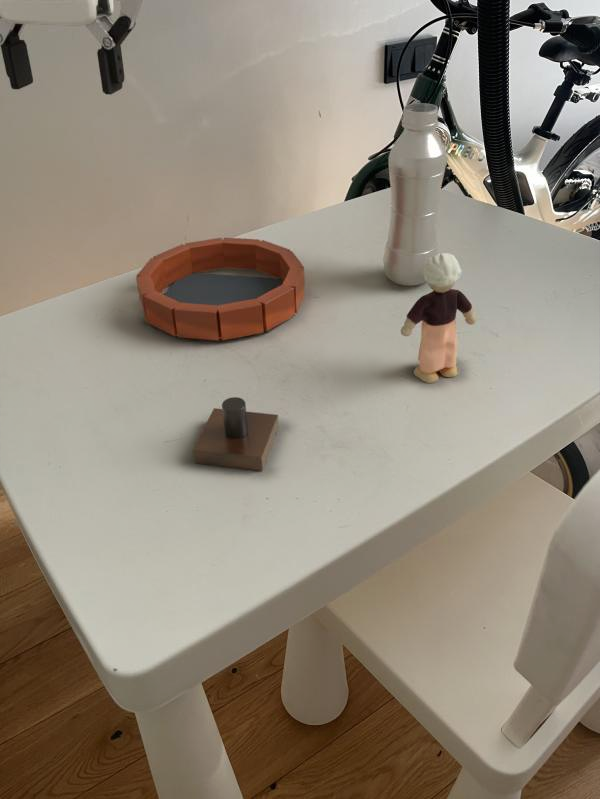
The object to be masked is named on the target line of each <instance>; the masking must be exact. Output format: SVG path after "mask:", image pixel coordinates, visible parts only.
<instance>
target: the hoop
mask: <svg viewBox="0 0 600 799" xmlns="http://www.w3.org/2000/svg"><path fill="white" fill-rule="evenodd" d="M219 269H241V270H254V271H255V270H256V271H259V272H261V273H263V274H266V275H269V276H271V277H273V278H279V279H281V280H282V281H283V284H282V285H281V286H279V287H277V288H275V289H273V290H271V291H269V292H268V293H266V294H264V295H262V296H260V297H258V298H256V299H251V300H246V301H240V302H235V303H229V304H224V305H218V306H216V305H203V304H190V303H180V302H178V301H176V300H174V299H171V298H169V297H167V296H165V294H163V293H162V292H163V291H164V290H165V288H166V287H167V286H168V285H170V284H173V283H174V282H175V281H177V280H179V279H181V278H183V277H185V276H188V275H190V274H192V273H203V272H208V271H213V270H214V271H215V270H219ZM135 279H136V286H137V291H138V296H139V301H140V302H139V303H140V305H141V309H142V313H143V315H144V319H145V321H146V322H147V321H148V323H147V324H149V325H151V326H154V327H155V328H157V329H158V330H161V331H163V332H166V333H167V334H169V335H172V336H173V337H176V336H177V337H178V338H185V339H193V340H194V339H196V340H207V341H220V339H221V341H226V340H227V341H228V340H232V339H237V338H242V337H243V338H244V337H249V336H252V335H257V334H263V332H264V330H265V331H268V330H269V331H271V329H273V328H275V327H277V326H278V325H280V324H282V323H284V322H286V321H288V320H289V319H290V318H293V317H294V316H295V315H296V314H298V311H299V310H300V307H301V304H302V303H303V300H304V297H305V295H306V286H305V284H306V283H305V282H306V281H305V266H304V265H303V263H302V262H301V261H300V260H299V258H298V257H297V255H296V254H295V253H294V252H293V250H291V249H290V248H288V247H284V246H281V245H278V244H275V243H272V242H269V241H267V240H265V239H262V240H261V239H257V238H242V237H241V238H239V237H224V238H222V237H216V238H210V239H203V240H197V241H191V242H186V243H185V244H179V245H176V246H175V247H172V248H170V249H168V250H166V251H163V252H161V253H158V254H156V255H154V256H152V257H150V259H149V260H148V261H147V262H146V263H145V265H143V267H142V268H141V269H140V270H139V272H138V273H137V274H136V276H135ZM269 331H268V332H269Z"/></svg>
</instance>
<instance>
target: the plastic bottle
mask: <svg viewBox="0 0 600 799" xmlns="http://www.w3.org/2000/svg"><path fill="white" fill-rule="evenodd" d="M438 107H439V106H438V105H435V104H431V103H424V102H422V103H421V102H420V103H419V102H418V103H417V102H416V103H410V104H407V105H404V106H403V112H402V120H401V126H402V128H403V131H402V132H401V134H400V135H399V136H398V138H397V139H396V141H395V142H394V144H393V146H392V147H391V149H390V151H389V154H388V174H389V184H390V205H391V206H390V220H389V228H388V234H387V241H386V244H385V247H384V252H383V258H382V261H383V262H382V263H383V270H384V273H385V275H386V276H387V278H388V279H389V280H390V281H391V282H393V283H395V284H397V285H401V286H418V285H423V284H425V283H427V282H426V280H425V276H424V273H423V271H424V268H425V264H426V262H427V260H428V259H429V258H430V257H432V256H434V255H436V254H437V253H439V248H438V242H437V221H438V220H437V218H438V217H437V216H438V215H437V214H438V208H439V207H438V206H439V204H440V194H441V189H442V185H443V180H444V176H445V172H446V168H447V163H448V162H447V161H448V156H447V150H446V147H445V145H444V143H443V141H442V139H441V138H440V136H439V134H438V133H437V132H436V128H437V127H438V125H439V120H438V114H439V108H438Z"/></svg>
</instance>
